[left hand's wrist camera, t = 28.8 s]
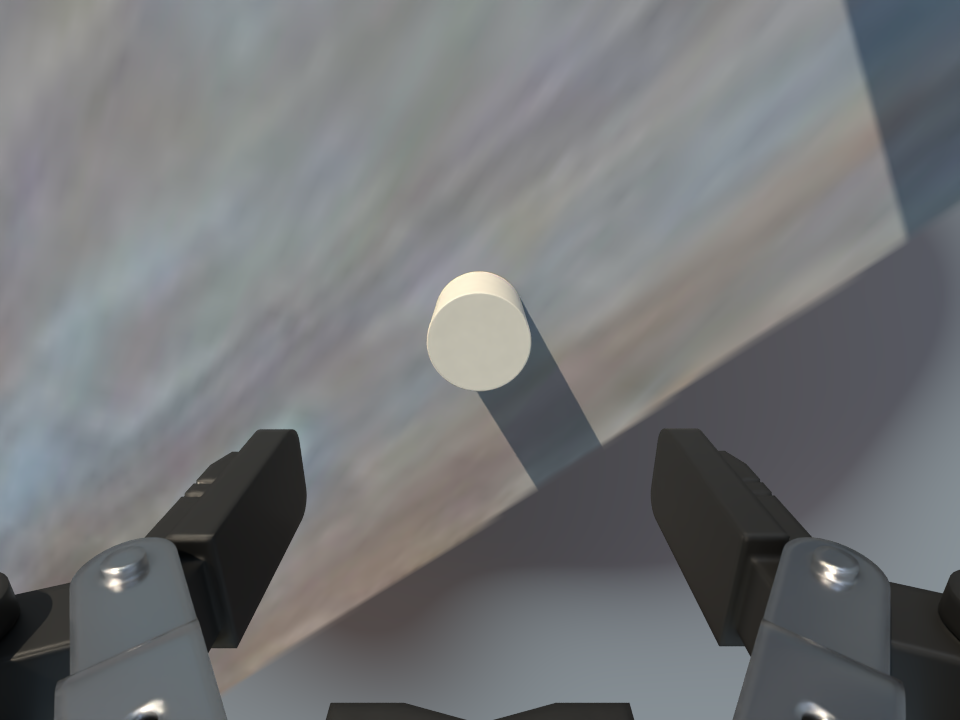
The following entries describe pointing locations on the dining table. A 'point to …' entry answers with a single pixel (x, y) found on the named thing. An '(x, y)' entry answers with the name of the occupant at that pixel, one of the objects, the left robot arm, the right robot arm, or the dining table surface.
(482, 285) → the cream short cylinder
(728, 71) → the dining table surface
